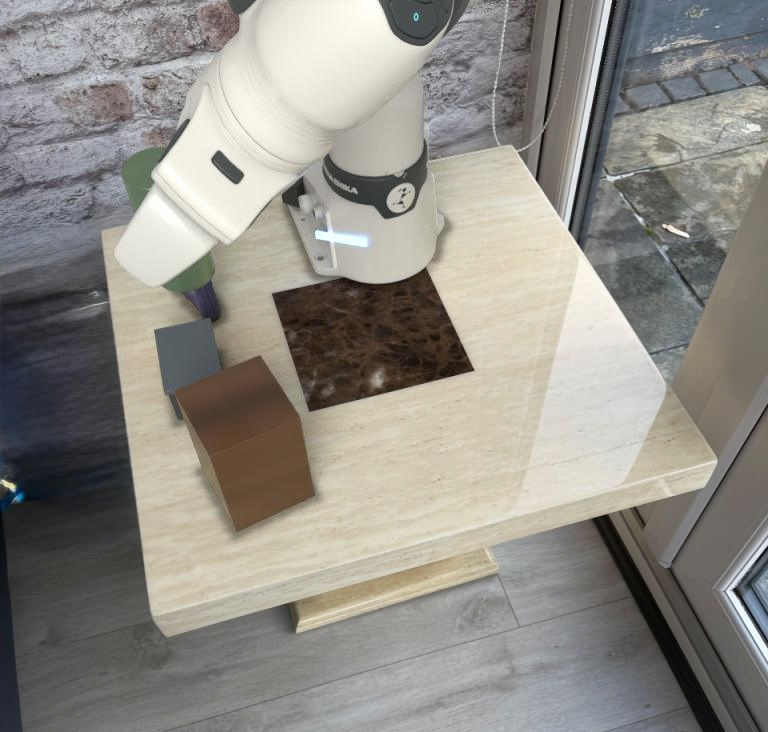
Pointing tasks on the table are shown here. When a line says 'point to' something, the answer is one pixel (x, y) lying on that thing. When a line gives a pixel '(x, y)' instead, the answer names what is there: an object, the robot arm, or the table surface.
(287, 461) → the block
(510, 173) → the table surface
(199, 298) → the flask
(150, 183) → the tin
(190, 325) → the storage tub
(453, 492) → the table surface
